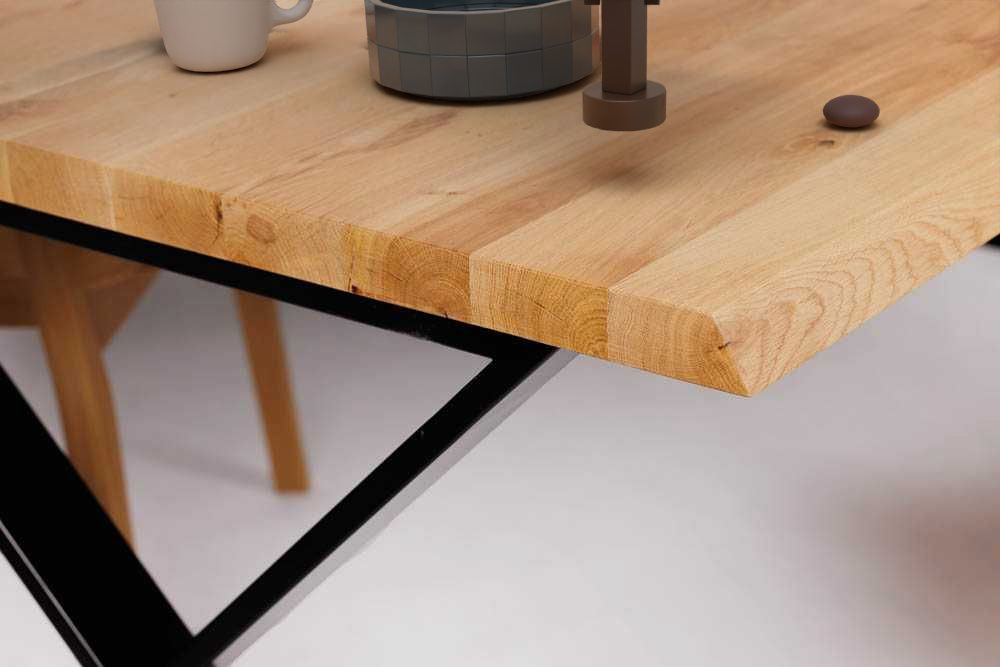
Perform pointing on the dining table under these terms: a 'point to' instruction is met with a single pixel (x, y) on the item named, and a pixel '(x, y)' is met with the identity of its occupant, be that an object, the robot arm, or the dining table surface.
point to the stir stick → (624, 73)
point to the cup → (221, 30)
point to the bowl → (481, 46)
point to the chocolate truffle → (851, 111)
